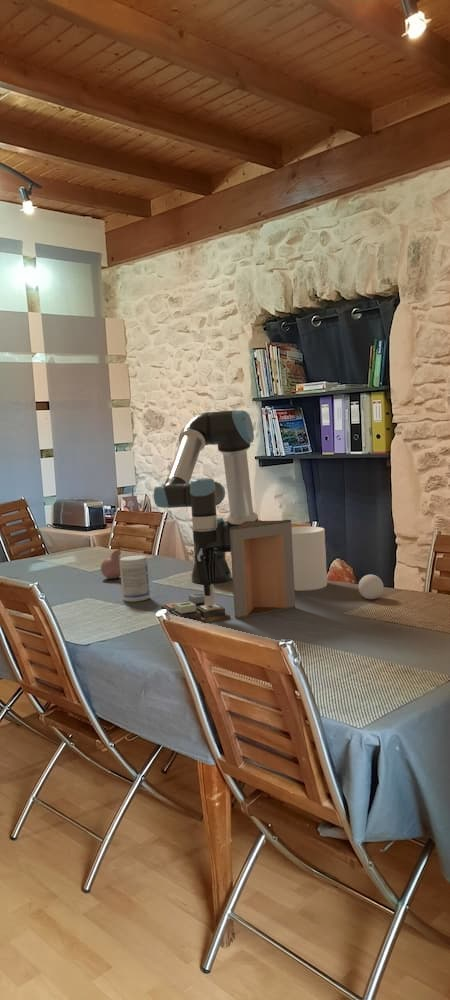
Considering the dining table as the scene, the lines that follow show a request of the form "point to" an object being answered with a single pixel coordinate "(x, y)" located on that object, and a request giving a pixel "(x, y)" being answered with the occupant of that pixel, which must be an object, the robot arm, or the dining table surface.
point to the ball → (370, 586)
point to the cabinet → (262, 567)
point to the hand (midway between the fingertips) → (209, 605)
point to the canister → (309, 558)
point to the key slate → (196, 598)
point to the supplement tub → (134, 578)
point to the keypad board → (201, 613)
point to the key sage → (185, 607)
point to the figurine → (111, 565)
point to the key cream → (209, 607)
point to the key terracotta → (171, 605)
